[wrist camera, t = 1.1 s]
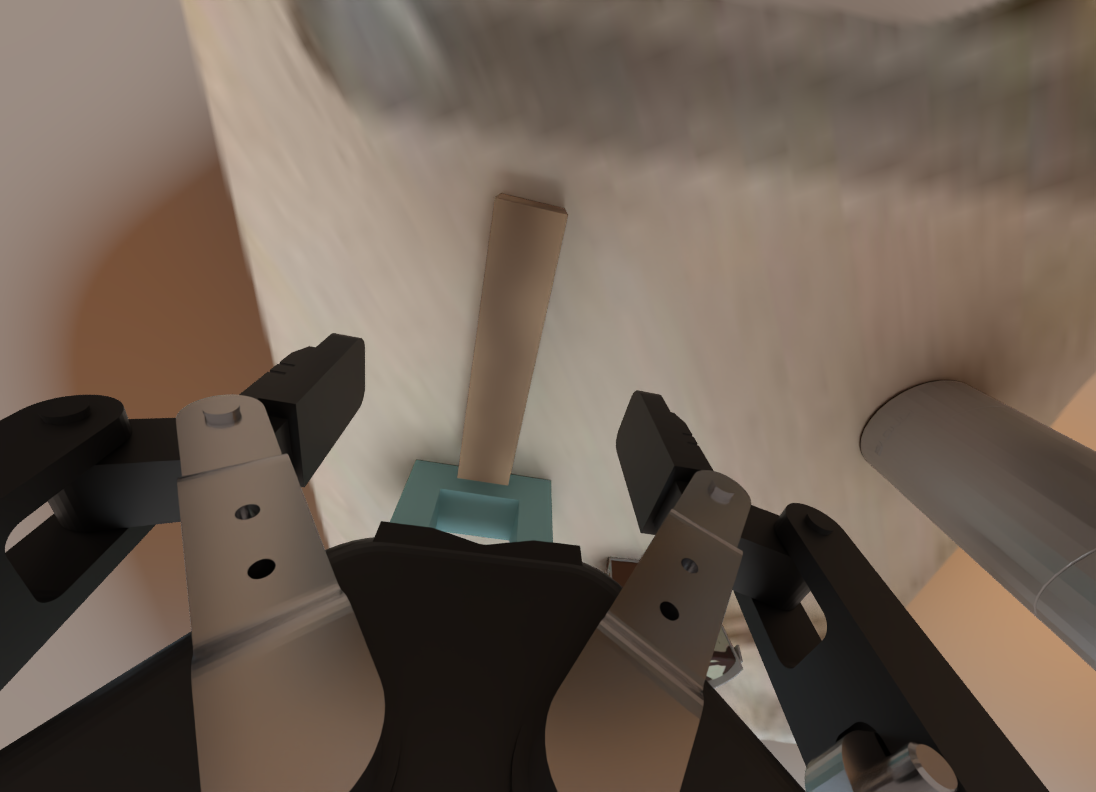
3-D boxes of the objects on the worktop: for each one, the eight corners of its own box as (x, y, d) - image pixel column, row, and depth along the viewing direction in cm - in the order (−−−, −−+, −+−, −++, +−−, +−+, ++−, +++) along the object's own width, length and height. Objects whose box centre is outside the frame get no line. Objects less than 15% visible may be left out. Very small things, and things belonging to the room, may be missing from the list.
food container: (582, 591, 44) (592, 694, 36) (594, 555, 41) (609, 659, 33) (687, 601, 46) (721, 703, 37) (707, 567, 43) (749, 670, 34)
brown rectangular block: (564, 208, 25) (567, 215, 22) (511, 453, 35) (508, 485, 31) (501, 193, 25) (494, 197, 21) (465, 446, 34) (457, 477, 31)
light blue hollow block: (550, 480, 36) (555, 624, 25) (539, 518, 39) (539, 665, 27) (416, 459, 35) (356, 601, 23) (413, 500, 37) (358, 647, 26)
